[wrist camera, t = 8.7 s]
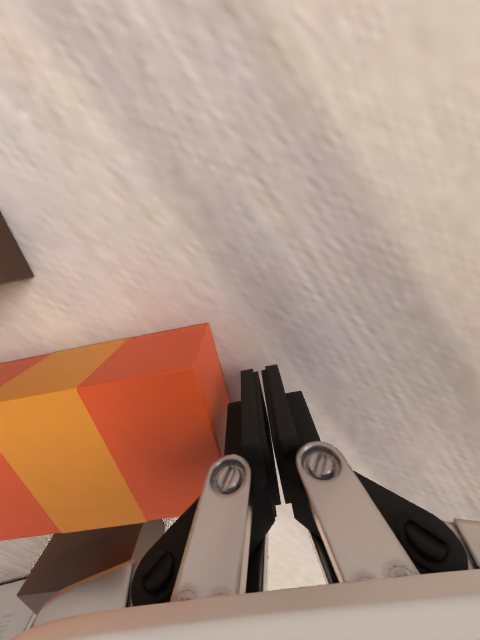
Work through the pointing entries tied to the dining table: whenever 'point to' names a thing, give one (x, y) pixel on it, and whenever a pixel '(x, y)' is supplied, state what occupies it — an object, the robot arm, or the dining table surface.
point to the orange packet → (109, 432)
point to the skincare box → (13, 611)
